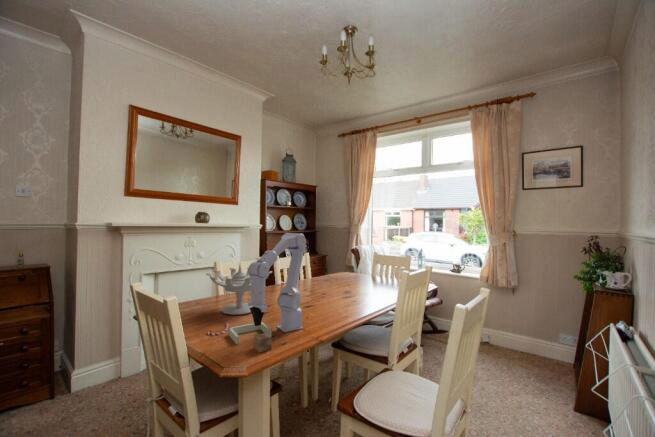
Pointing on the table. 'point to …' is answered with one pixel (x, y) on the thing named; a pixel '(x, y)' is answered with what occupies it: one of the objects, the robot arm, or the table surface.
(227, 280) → the candelabra
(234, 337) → the sage corner frame
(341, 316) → the table surface
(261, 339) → the tan cube
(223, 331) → the candy cane
